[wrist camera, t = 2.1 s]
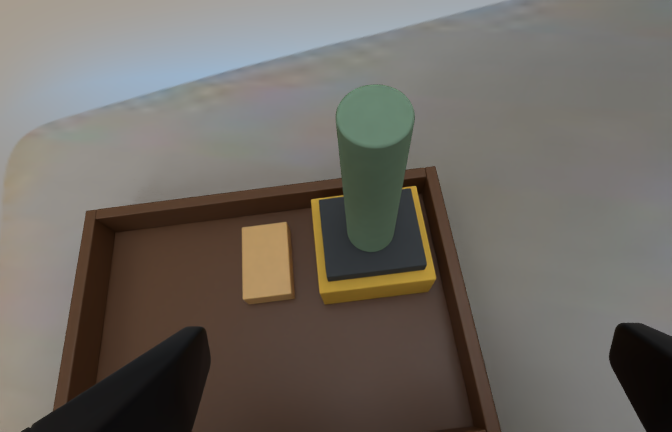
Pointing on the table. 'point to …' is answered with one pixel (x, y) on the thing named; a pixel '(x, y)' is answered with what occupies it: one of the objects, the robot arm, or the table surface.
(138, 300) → the tray
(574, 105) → the table surface
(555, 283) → the table surface
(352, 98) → the sponge wand
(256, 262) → the tan rectangular slab
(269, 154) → the table surface
